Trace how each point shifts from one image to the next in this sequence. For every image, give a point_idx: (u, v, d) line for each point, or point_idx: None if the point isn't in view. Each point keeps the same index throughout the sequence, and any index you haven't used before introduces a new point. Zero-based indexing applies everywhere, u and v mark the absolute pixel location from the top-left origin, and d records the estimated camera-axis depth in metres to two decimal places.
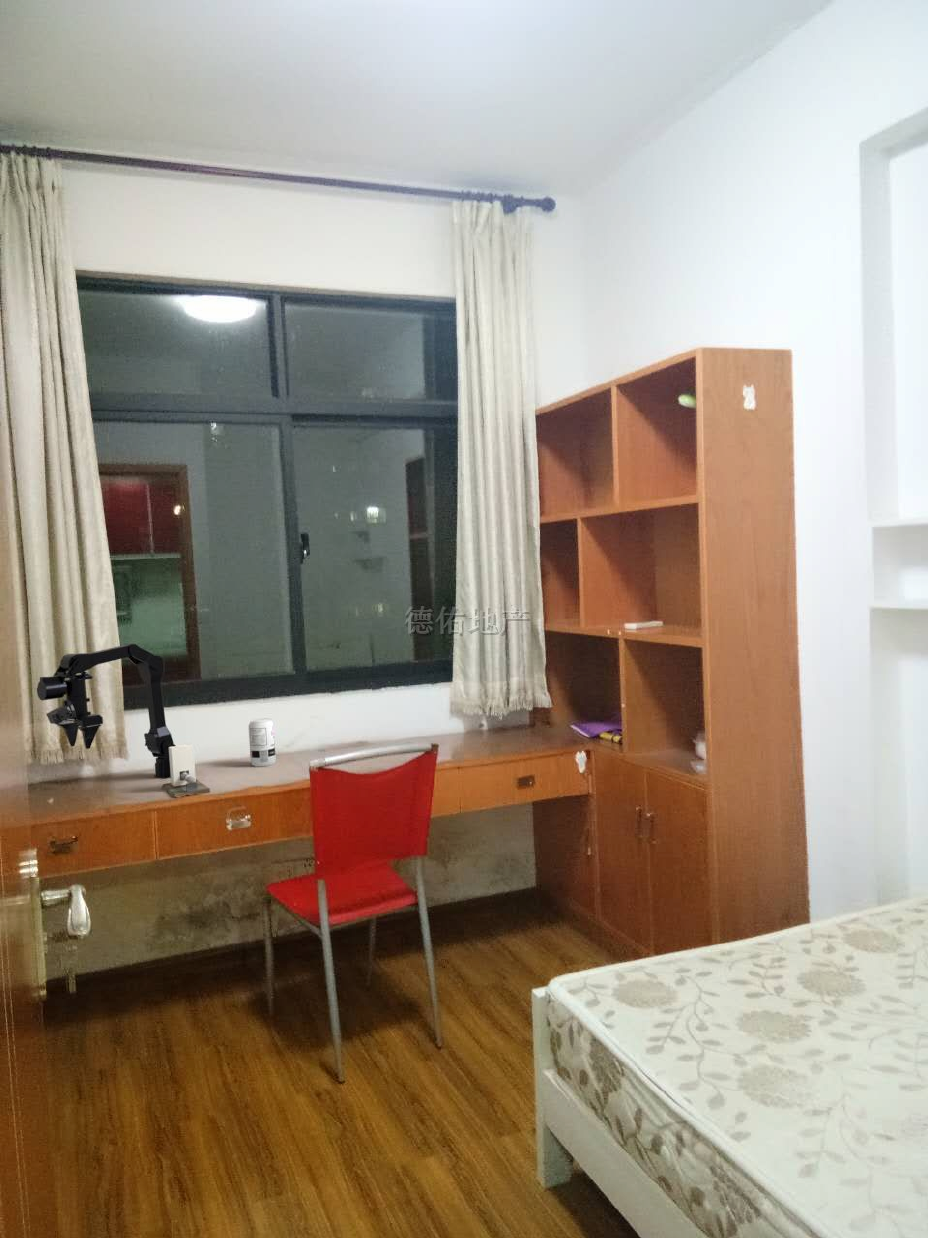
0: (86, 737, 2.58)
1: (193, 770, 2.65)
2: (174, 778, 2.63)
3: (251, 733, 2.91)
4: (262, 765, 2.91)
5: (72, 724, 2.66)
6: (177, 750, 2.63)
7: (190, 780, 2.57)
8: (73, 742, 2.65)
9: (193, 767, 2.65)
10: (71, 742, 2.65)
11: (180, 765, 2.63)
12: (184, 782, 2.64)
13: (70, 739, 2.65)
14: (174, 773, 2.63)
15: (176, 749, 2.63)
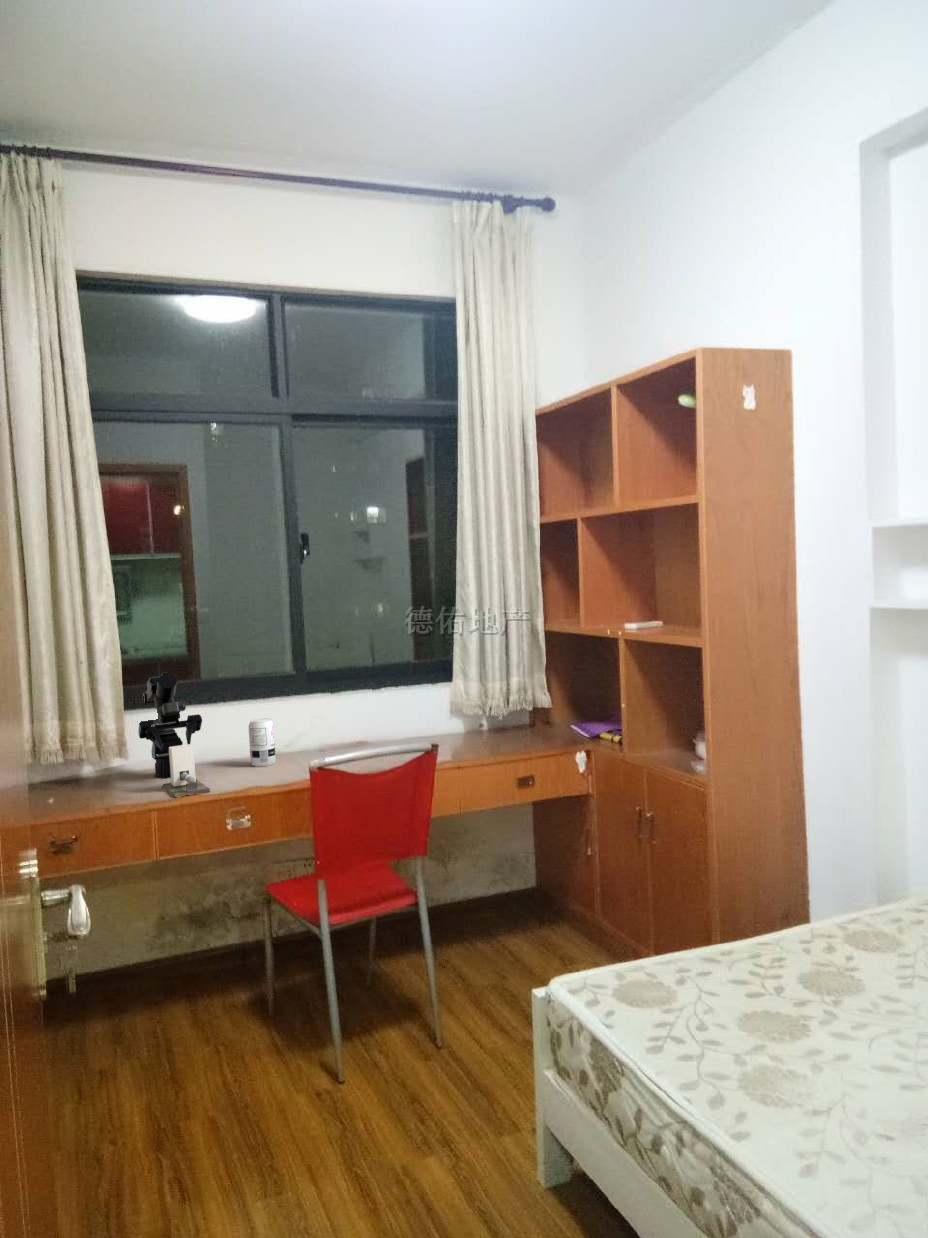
0: None
1: (193, 770, 2.65)
2: (174, 778, 2.63)
3: (251, 733, 2.91)
4: (262, 765, 2.91)
5: None
6: (177, 750, 2.63)
7: (190, 780, 2.57)
8: None
9: (193, 767, 2.65)
10: None
11: (180, 765, 2.63)
12: (184, 782, 2.64)
13: None
14: (174, 773, 2.63)
15: (176, 749, 2.63)
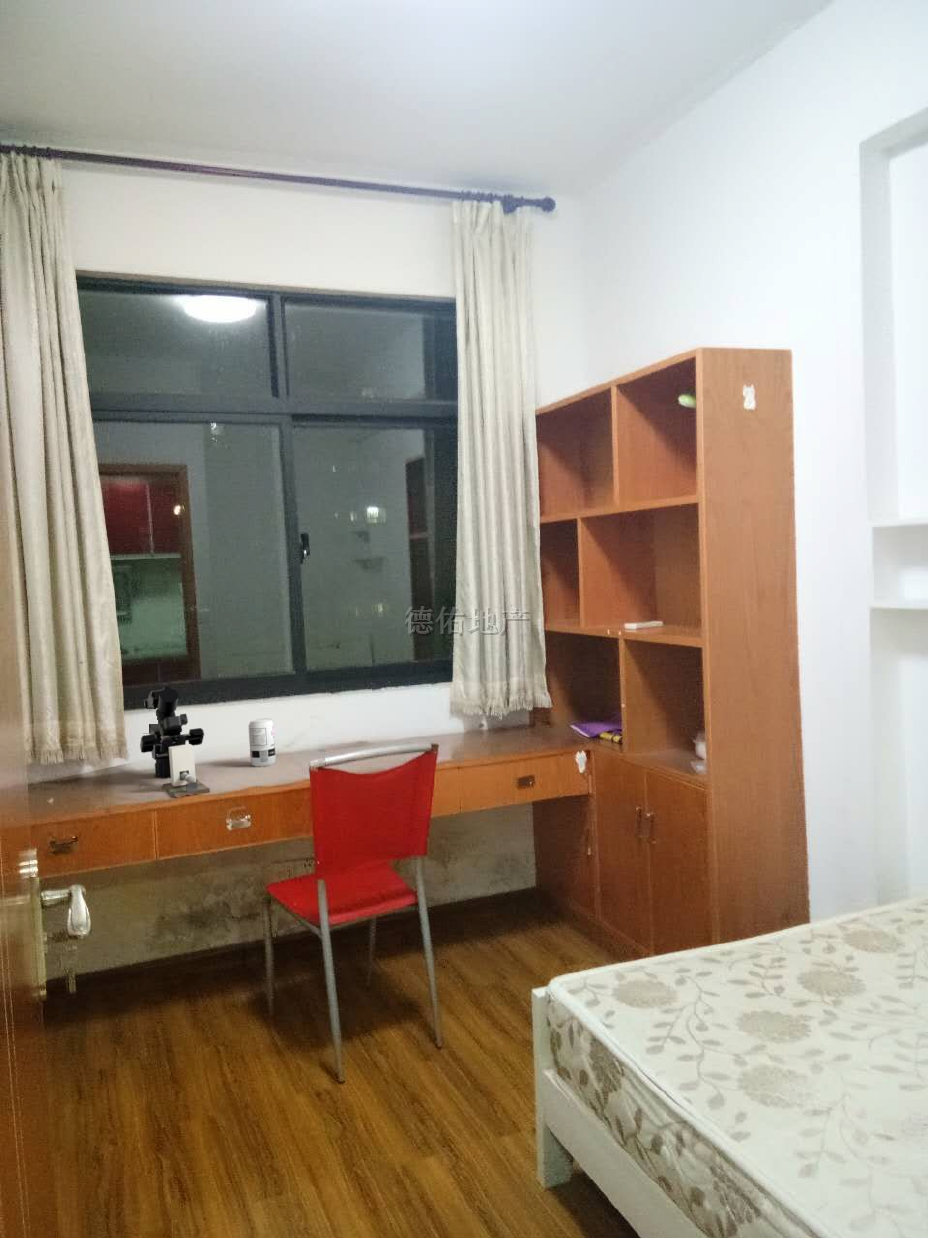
0: None
1: (193, 770, 2.65)
2: (174, 778, 2.63)
3: (251, 733, 2.91)
4: (262, 765, 2.91)
5: None
6: (177, 750, 2.63)
7: (190, 780, 2.57)
8: None
9: (193, 767, 2.65)
10: None
11: (180, 765, 2.63)
12: (184, 782, 2.64)
13: None
14: (174, 773, 2.63)
15: (176, 749, 2.63)
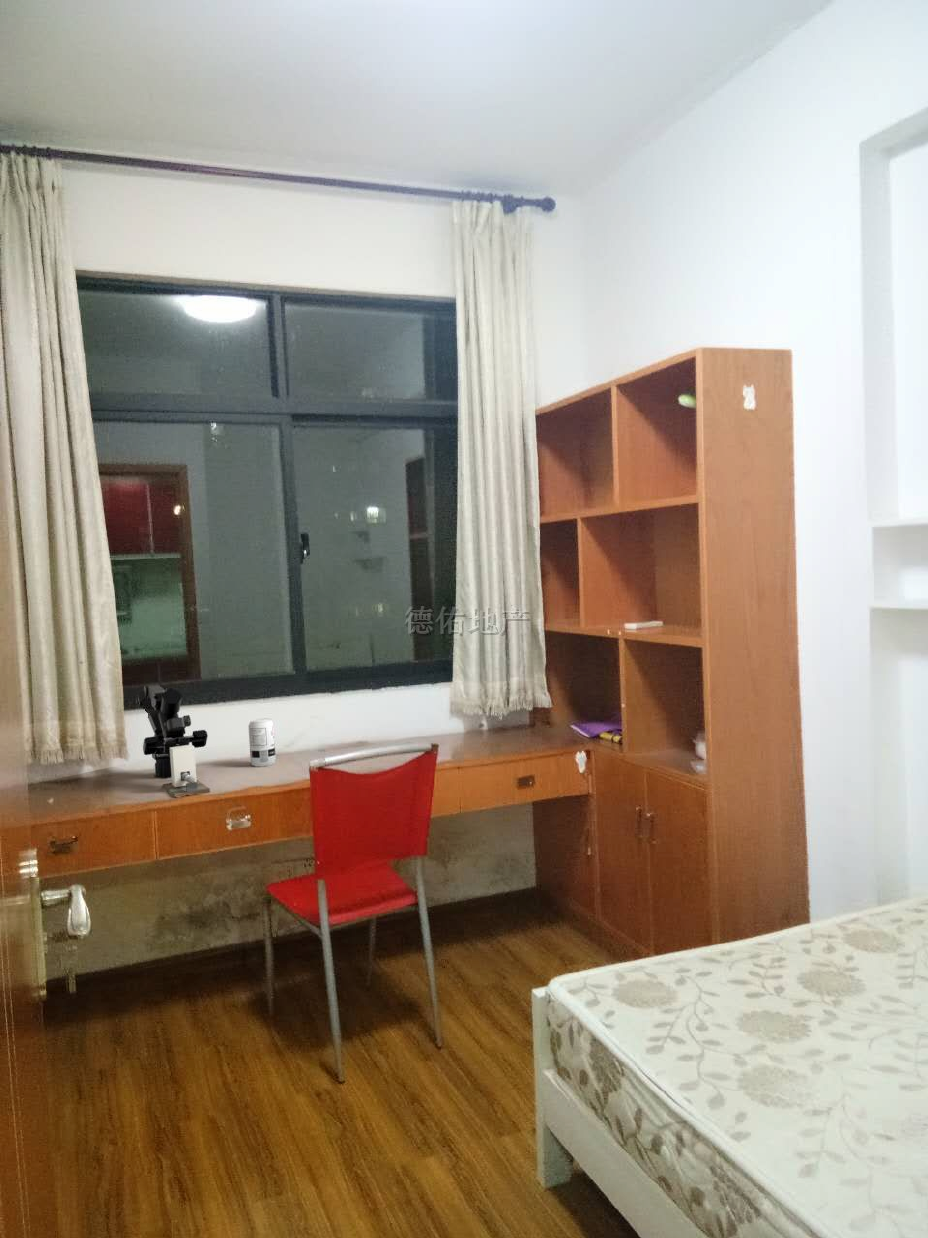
0: None
1: (194, 771, 2.64)
2: (175, 779, 2.62)
3: (251, 733, 2.91)
4: (262, 765, 2.91)
5: None
6: (178, 750, 2.62)
7: (190, 780, 2.57)
8: None
9: (194, 768, 2.64)
10: None
11: (181, 765, 2.62)
12: (185, 783, 2.63)
13: None
14: (175, 774, 2.62)
15: (177, 750, 2.62)
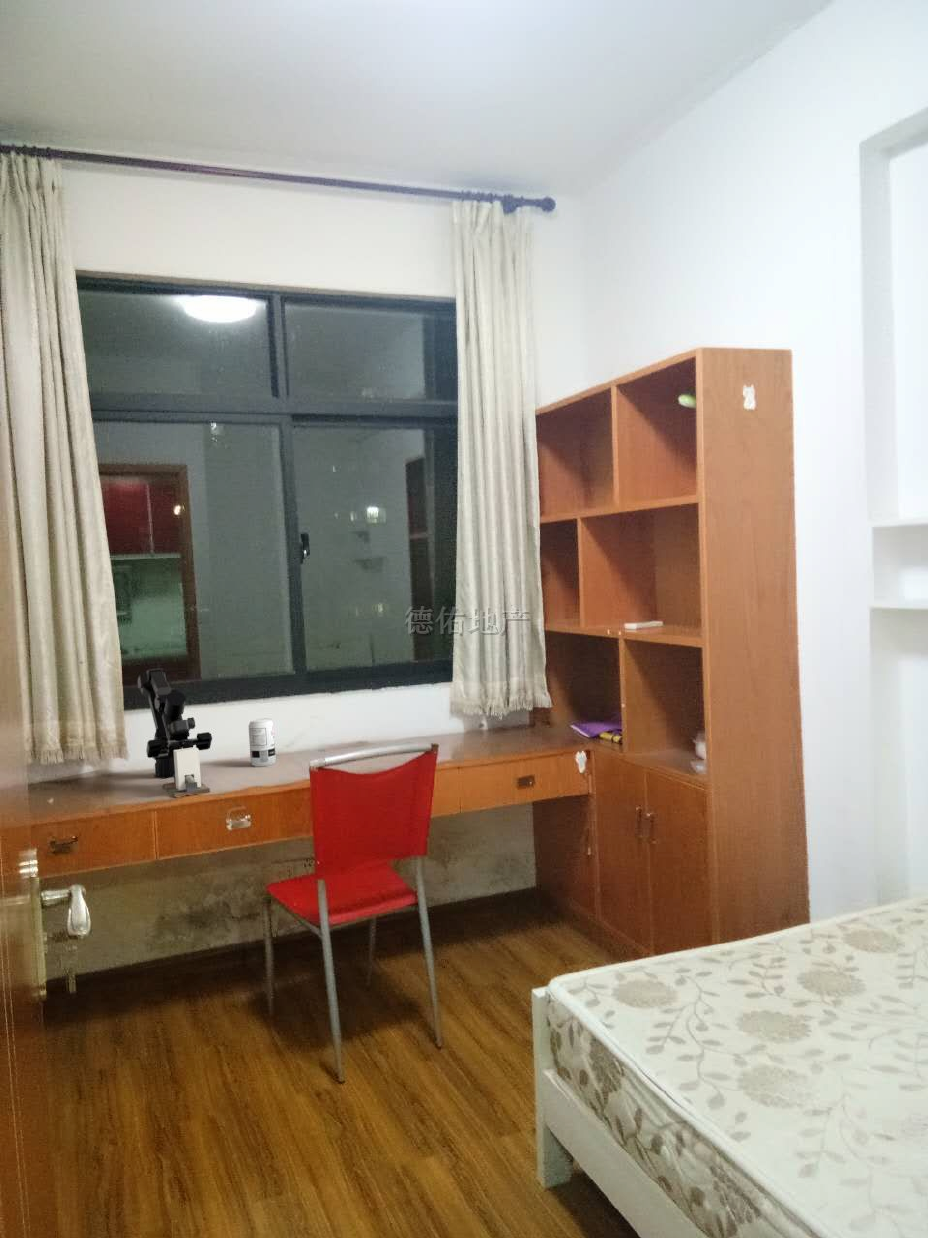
0: None
1: (198, 774, 2.60)
2: (179, 782, 2.57)
3: (251, 733, 2.91)
4: (262, 765, 2.91)
5: None
6: (182, 753, 2.57)
7: (190, 780, 2.57)
8: None
9: (198, 771, 2.60)
10: None
11: (185, 768, 2.58)
12: None
13: None
14: (179, 777, 2.57)
15: (181, 752, 2.57)
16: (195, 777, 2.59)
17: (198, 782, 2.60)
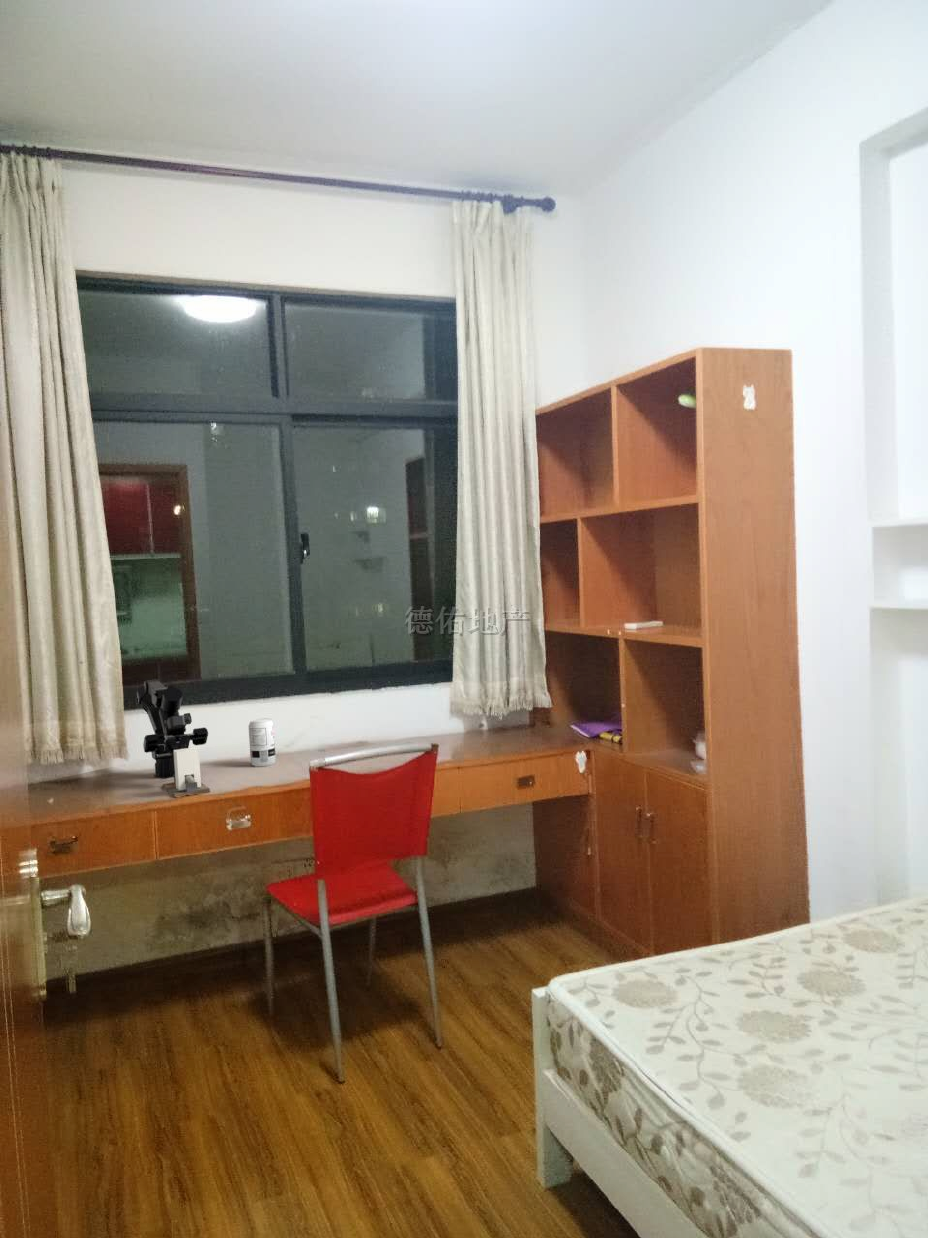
0: None
1: (198, 774, 2.60)
2: (179, 782, 2.57)
3: (251, 733, 2.91)
4: (262, 765, 2.91)
5: None
6: (182, 753, 2.57)
7: (190, 780, 2.57)
8: None
9: (198, 771, 2.60)
10: None
11: (185, 768, 2.58)
12: None
13: None
14: (179, 777, 2.57)
15: (181, 752, 2.57)
16: (195, 777, 2.59)
17: (198, 782, 2.60)
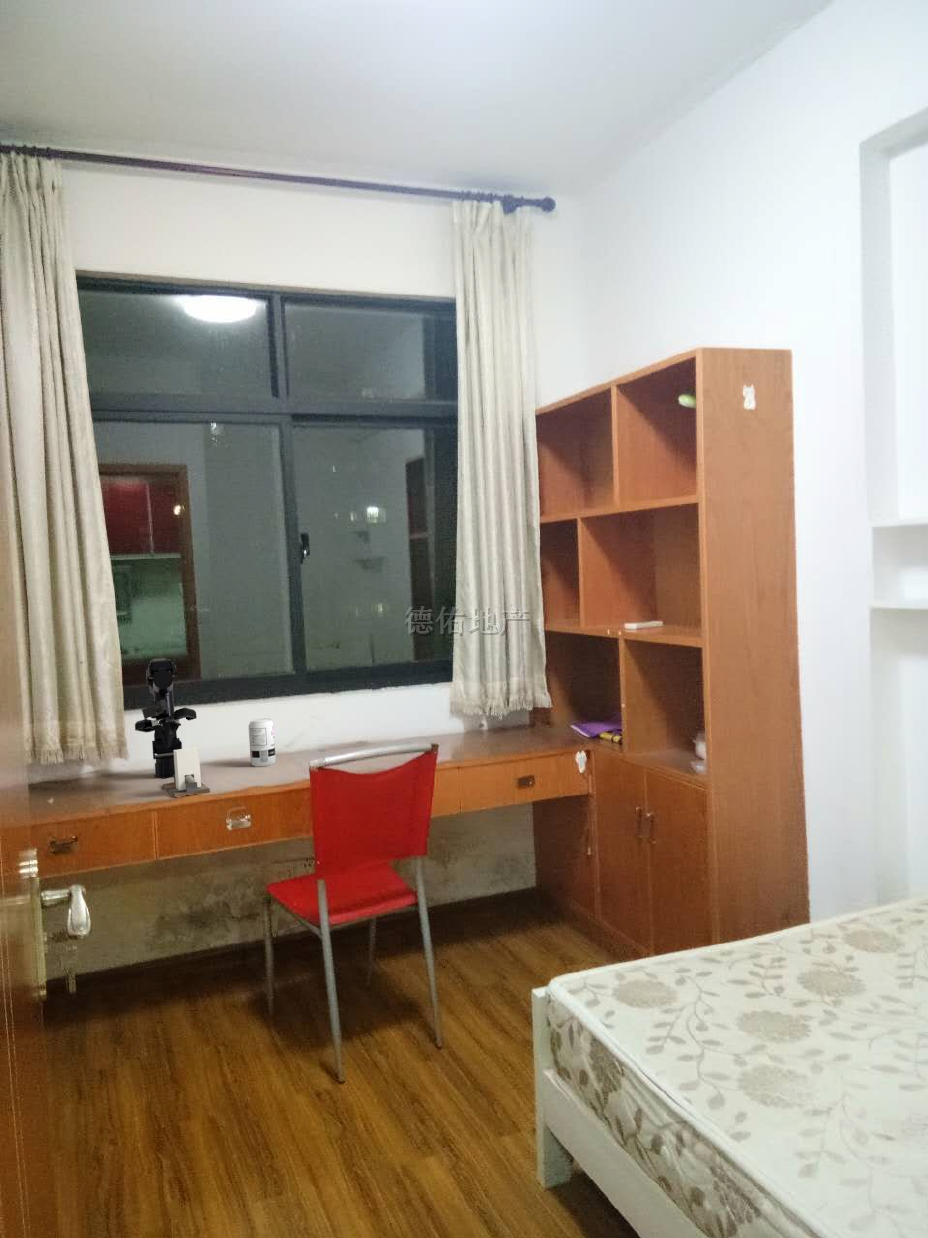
0: (169, 734, 2.67)
1: (198, 774, 2.60)
2: (179, 782, 2.57)
3: (251, 733, 2.91)
4: (262, 765, 2.91)
5: None
6: (182, 753, 2.57)
7: (190, 780, 2.57)
8: None
9: (198, 771, 2.60)
10: None
11: (185, 768, 2.58)
12: None
13: (165, 740, 2.67)
14: (179, 777, 2.57)
15: (181, 752, 2.57)
16: (195, 777, 2.59)
17: (198, 782, 2.60)
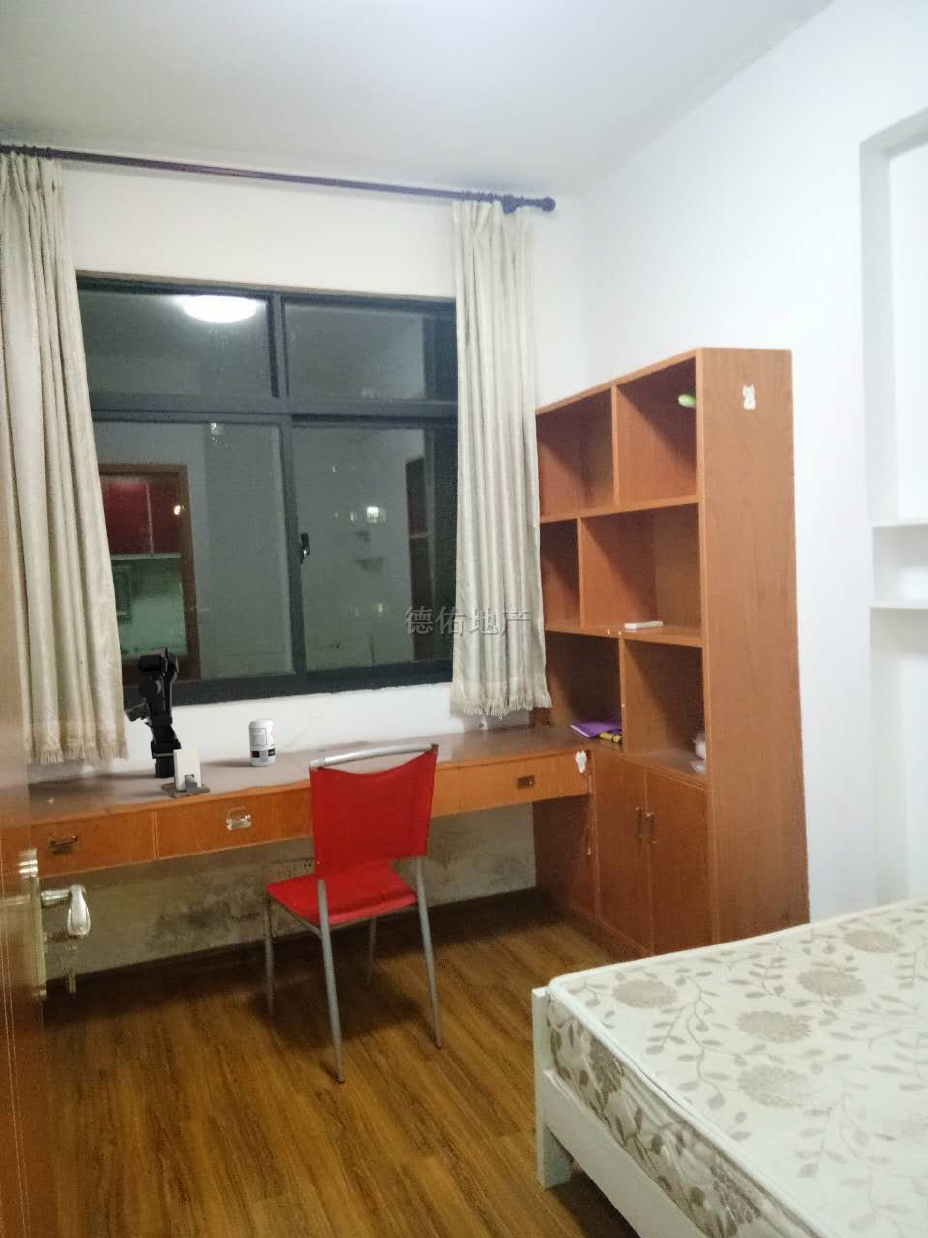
0: (155, 734, 2.67)
1: (198, 774, 2.60)
2: (179, 782, 2.57)
3: (251, 733, 2.91)
4: (262, 765, 2.91)
5: None
6: (182, 753, 2.57)
7: (190, 780, 2.57)
8: None
9: (198, 771, 2.60)
10: None
11: (185, 768, 2.58)
12: None
13: None
14: (179, 777, 2.57)
15: (181, 752, 2.57)
16: (195, 777, 2.59)
17: (198, 782, 2.60)
